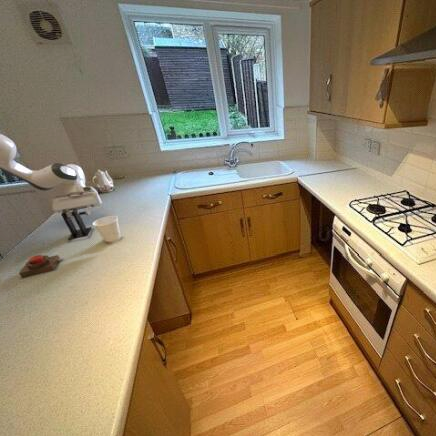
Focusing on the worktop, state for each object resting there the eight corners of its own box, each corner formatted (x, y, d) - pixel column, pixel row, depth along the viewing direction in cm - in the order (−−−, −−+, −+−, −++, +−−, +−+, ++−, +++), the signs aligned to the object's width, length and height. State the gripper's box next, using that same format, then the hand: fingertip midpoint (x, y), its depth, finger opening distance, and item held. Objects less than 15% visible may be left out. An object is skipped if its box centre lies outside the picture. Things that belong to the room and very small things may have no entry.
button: (29, 265, 96) (26, 262, 95) (33, 259, 99) (31, 256, 98) (42, 262, 97) (40, 259, 96) (45, 257, 100) (43, 253, 100)
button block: (22, 277, 95) (16, 270, 93) (30, 266, 101) (25, 258, 99) (54, 270, 98) (49, 262, 97) (60, 259, 105) (56, 251, 103)
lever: (73, 217, 126) (71, 212, 125) (87, 214, 128) (85, 210, 128) (62, 218, 115) (60, 213, 114) (77, 215, 117) (76, 210, 117)
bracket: (74, 232, 125) (61, 208, 119) (92, 228, 128) (81, 205, 122) (68, 242, 117) (54, 217, 111) (88, 237, 120) (76, 213, 114)
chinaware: (107, 186, 193) (97, 165, 185) (126, 183, 191) (117, 163, 183) (79, 200, 168) (65, 177, 160) (100, 197, 167) (88, 174, 159)
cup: (114, 246, 113) (105, 226, 107) (96, 245, 114) (86, 225, 109) (130, 235, 121) (122, 216, 116) (113, 234, 123) (104, 215, 117)
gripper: (48, 194, 123) (50, 218, 119) (96, 187, 130) (100, 209, 127) (55, 199, 128) (58, 222, 125) (101, 192, 136) (104, 214, 133)
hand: (79, 216), depth 126 cm, fingers closed on lever, 6 cm apart
